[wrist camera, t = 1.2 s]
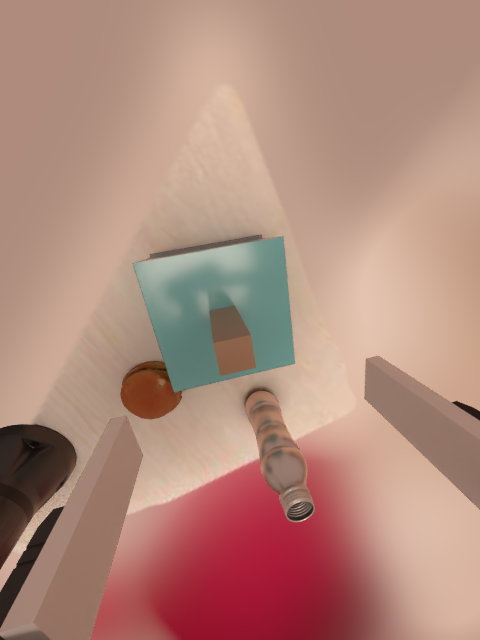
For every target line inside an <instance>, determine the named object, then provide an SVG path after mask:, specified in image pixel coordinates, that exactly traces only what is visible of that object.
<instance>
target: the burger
mask: <svg viewBox="0 0 480 640" xmlns="http://www.w3.org/2000/svg"><path fill="white" fill-rule="evenodd" d="M181 392H182V391H177V392H174V391H173V388H172V384H171V381H170V378H169V375H168V372H167V369H166V366H165V363H162V362H155V361H153V362H147V363H144V364H142V365H139V366H137V367H136V368H134V369H133V370H132V371H131V372H130V373H128V374H127V375H126V376H125V378H124V380H123V382H122V388H121V399H122V402H123V404H124V406H125V407H126V408H127V409H128V410H129V411H130V412H131V413H133V414H134V415H136V416H138V417H141V418H145V419H155V418H159V417H162V416H164V415H165V414H167V413H169V412H170V411H172V410H173V409H174V408H175V407H176V406H177V405H178V404H179V402H180V400H181V399H182V396H181Z"/></svg>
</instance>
